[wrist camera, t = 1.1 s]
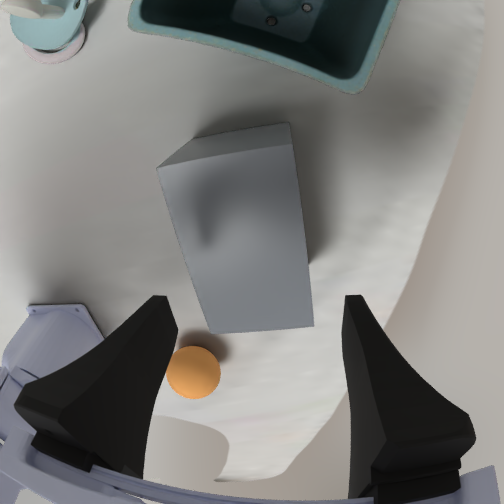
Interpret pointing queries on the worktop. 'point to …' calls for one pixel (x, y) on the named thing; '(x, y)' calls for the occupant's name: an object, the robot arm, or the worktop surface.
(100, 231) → the worktop surface
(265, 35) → the flower pot
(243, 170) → the gray rectangular block
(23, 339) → the robot arm
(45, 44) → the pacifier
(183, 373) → the ball
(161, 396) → the worktop surface
